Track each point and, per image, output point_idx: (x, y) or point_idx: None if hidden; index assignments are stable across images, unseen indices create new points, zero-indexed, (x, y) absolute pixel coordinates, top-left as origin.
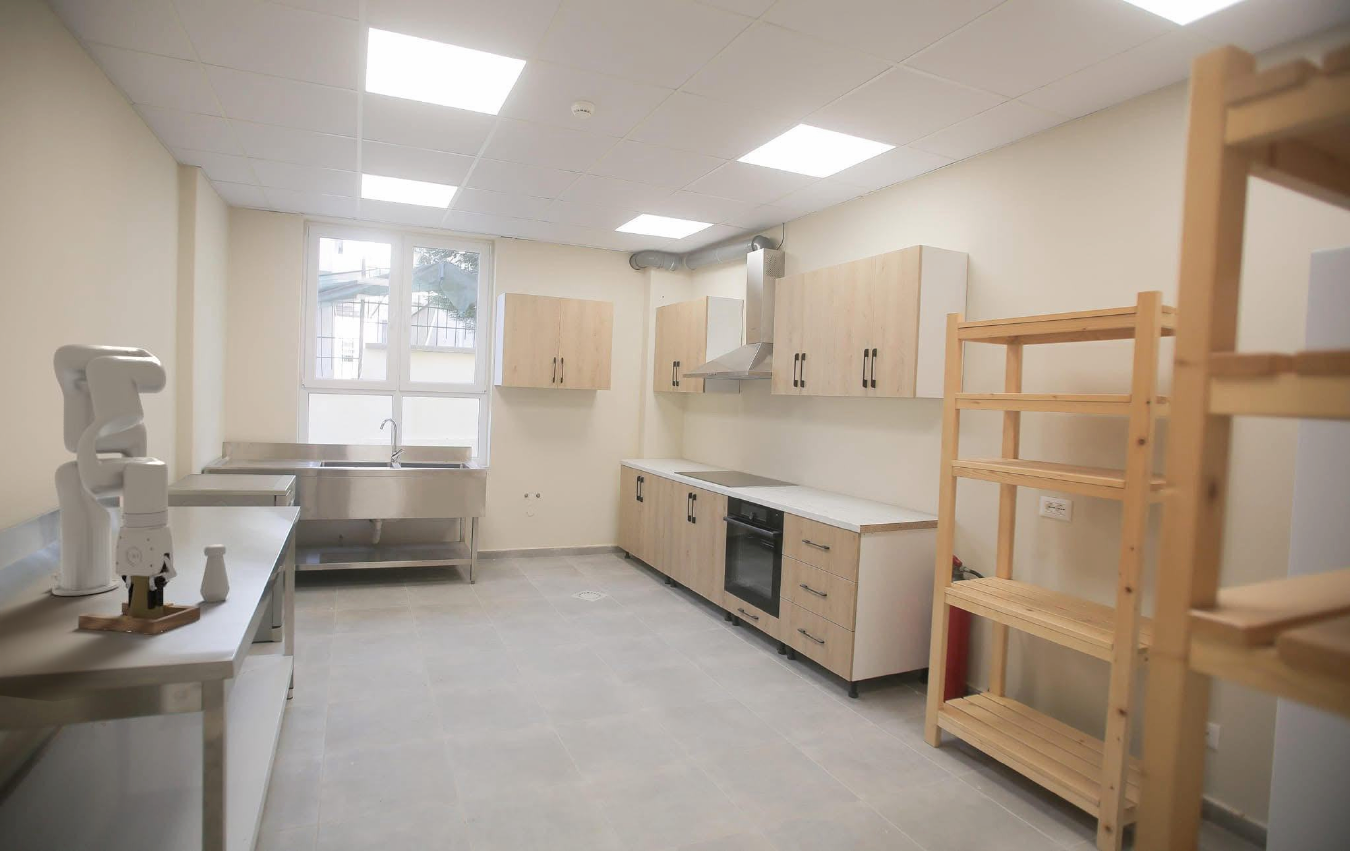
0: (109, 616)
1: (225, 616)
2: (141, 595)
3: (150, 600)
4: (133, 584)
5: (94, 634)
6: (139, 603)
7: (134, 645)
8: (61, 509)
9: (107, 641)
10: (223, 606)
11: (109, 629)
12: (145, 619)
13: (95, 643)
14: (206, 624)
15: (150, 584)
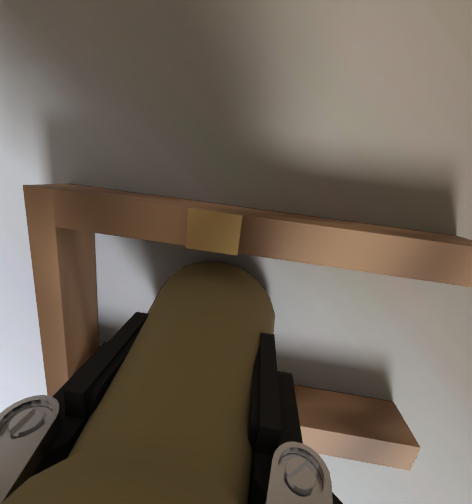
0: (321, 254)
1: (26, 390)
2: (144, 358)
3: (110, 341)
4: (262, 492)
5: (315, 158)
6: (171, 318)
7: (23, 36)
8: None
9: (180, 71)
10: None
11: (288, 213)
12: (105, 225)
13: (209, 32)
14: (7, 314)
15: (19, 451)
